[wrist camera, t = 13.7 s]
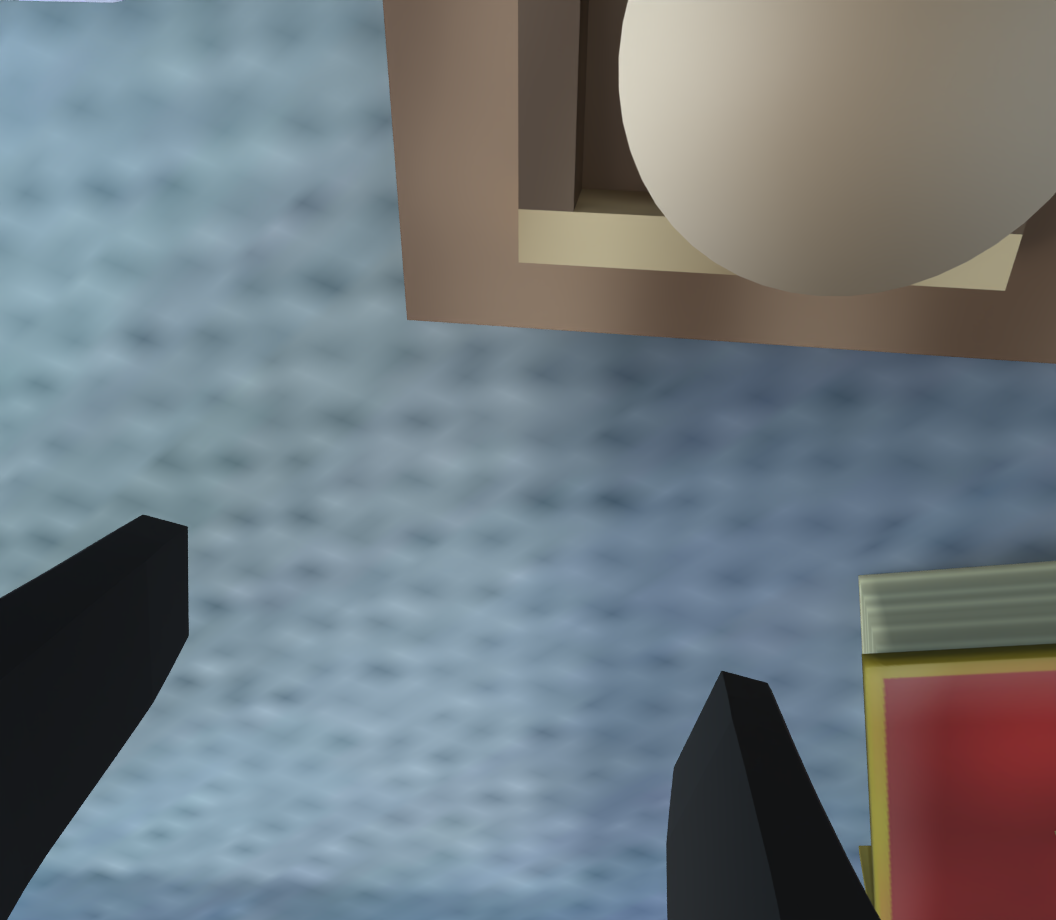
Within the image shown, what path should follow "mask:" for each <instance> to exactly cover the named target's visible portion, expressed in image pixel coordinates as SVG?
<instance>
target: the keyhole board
mask: <svg viewBox="0 0 1056 920" xmlns="http://www.w3.org/2000/svg"><path fill="white" fill-rule="evenodd" d="M627 3H628V0H383V9H384V22H385V36H386V49H387V62H388V75H389V88H390V101H391V114H392V127H393V140H394V153H395V166H396V179H397V192H398V206H399V219H400V232H401V245H402V258H403V271H404V284H405V297H406V310H407V320H418V321H433V322H448V323H463V324H477V325H492V326H507V327H522V328H537V329H551V330H566V331H581V332H596V333H610V334H625V335H640V336H655V337H670V338H684V339H699V340H714V341H729V342H744V343H758V344H773V345H788V346H803V347H817V348H832V349H847V350H862V351H877V352H891V353H906V354H921V355H936V356H951V357H965V358H980V359H995V360H1010V361H1024V362H1039V363H1054V364H1056V193H1055V194H1054V195H1053V196H1052V197H1051V199H1050V200H1049V201H1047V202H1046V203H1045V204H1044V205H1043V206H1042V207H1041V208H1040V209H1039V210H1038V211H1037V212H1036V213H1035V214H1033V215H1032V216H1031V217H1030V218H1029V219H1028V220H1027V221H1026V222H1025V223H1024V224H1022V225H1021V226H1020V227H1018V228H1017V229H1016V230H1014V231H1013V232H1012V233H1010V234H1009V235H1008V236H1006V237H1005V238H1004V239H1003V240H1001V241H1000V242H999V243H997V244H996V245H994V246H992V247H991V248H989V249H987V250H986V251H984V252H983V253H981V254H979V255H978V256H976V257H974V258H973V259H971V260H969V261H968V262H966V263H963V264H961V265H959V266H957V267H955V268H953V269H951V270H949V271H946V272H944V273H942V274H940V275H938V276H935V277H932V278H929V279H926V280H924V281H921V282H918V283H915V284H912V285H909V286H905V287H901V288H897V289H892V290H888V291H884V292H879V293H872V294H863V295H854V296H814V295H806V294H798V293H790V292H786V291H782V290H779V289H775V288H771V287H767V286H763V285H761V284H758V283H756V282H753V281H751V280H748V279H745V278H743V277H740V276H738V275H736V274H734V273H733V272H731V271H729V270H727V269H725V268H724V267H722V266H720V265H718V264H717V263H715V262H713V261H712V260H711V259H709V258H708V257H707V256H705V255H704V254H703V253H701V252H700V251H699V250H697V249H696V248H695V247H693V246H692V245H691V244H690V243H689V242H688V241H687V240H686V239H685V238H684V237H683V236H682V235H681V234H680V233H679V232H678V231H677V230H676V229H675V228H674V227H673V226H672V225H671V223H670V222H669V221H668V219H667V218H666V217H665V215H664V214H663V213H662V212H661V210H660V209H659V208H658V206H657V205H656V204H655V202H654V200H653V198H652V197H651V195H650V193H649V191H648V189H647V188H646V186H645V184H644V182H643V181H642V179H641V176H640V174H639V171H638V169H637V166H636V164H635V162H634V159H633V157H632V154H631V152H630V148H629V144H628V140H627V136H626V132H625V128H624V125H623V119H622V112H621V104H620V96H619V51H620V42H621V34H622V25H623V20H624V16H625V12H626V7H627Z"/></svg>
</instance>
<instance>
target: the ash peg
mask: <svg viewBox="0 0 1056 920" xmlns="http://www.w3.org/2000/svg"><path fill="white" fill-rule="evenodd" d="M619 96H620V104H621V112H622V119H623V125H624V128H625V132H626V136H627V140H628V144H629V148H630V152H631V154H632V157H633V159H634V162H635V164H636V166H637V169H638V171H639V174H640V176H641V179H642V181H643V182H644V184H645V186H646V188H647V189H648V191H649V193H650V195H651V197H652V198H653V200H654V202H655V204H656V205H657V206H658V208H659V209H660V210H661V212H662V213H663V214H664V215H665V217H666V218H667V219H668V221H669V222H670V223H671V225H672V226H673V227H674V228H675V229H676V230H677V231H678V232H679V233H680V234H681V235H682V236H683V237H684V238H685V239H686V240H687V241H688V242H689V243H690V244H691V245H692V246H693V247H695V248H696V249H697V250H699V251H700V252H701V253H703V254H704V255H705V256H707V257H708V258H709V259H711V260H712V261H713V262H715V263H717V264H718V265H720V266H722V267H724V268H725V269H727V270H729V271H731V272H733V273H734V274H736V275H738V276H740V277H743V278H745V279H748V280H751V281H753V282H756V283H758V284H761V285H763V286H767V287H771V288H775V289H779V290H782V291H786V292H790V293H798V294H806V295H814V296H854V295H863V294H872V293H879V292H884V291H888V290H892V289H897V288H901V287H905V286H909V285H912V284H915V283H918V282H921V281H924V280H926V279H929V278H932V277H935V276H938V275H940V274H942V273H944V272H946V271H949V270H951V269H953V268H955V267H957V266H959V265H961V264H963V263H966V262H968V261H969V260H971V259H973V258H974V257H976V256H978V255H979V254H981V253H983V252H984V251H986V250H987V249H989V248H991V247H992V246H994V245H996V244H997V243H999V242H1000V241H1001V240H1003V239H1004V238H1005V237H1006V236H1008V235H1009V234H1010V233H1012V232H1013V231H1014V230H1016V229H1017V228H1018V227H1020V226H1021V225H1022V224H1024V223H1025V222H1026V221H1027V220H1028V219H1029V218H1030V217H1031V216H1032V215H1033V214H1035V213H1036V212H1037V211H1038V210H1039V209H1040V208H1041V207H1042V206H1043V205H1044V204H1045V203H1046V202H1047V201H1049V200H1050V199H1051V197H1052V196H1053V195H1054V194H1055V193H1056V0H628V3H627V7H626V12H625V16H624V20H623V25H622V34H621V42H620V51H619Z"/></svg>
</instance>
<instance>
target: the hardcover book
mask: <svg viewBox="0 0 1056 920" xmlns="http://www.w3.org/2000/svg"><path fill="white" fill-rule="evenodd" d="M859 596H860V616H861V636H862V669H863V689H864V709H865V729H866V749H867V769H868V789H869V809H870V829H871V846H859V855H860V861H861V867H862V873H863V879H864V885H865V890H866V894H867V895H868V897H869V899H870V901H871V903H872V905H873V906H874V908H875V910H876V912H877V914H878V915H879V917H880V919H881V920H1056V561H1047V562H1034V563H1020V564H1007V565H994V566H980V567H967V568H953V569H940V570H926V571H913V572H900V573H886V574H873V575H859Z"/></svg>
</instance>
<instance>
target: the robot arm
mask: <svg viewBox="0 0 1056 920" xmlns="http://www.w3.org/2000/svg"><path fill="white" fill-rule="evenodd" d="M21 1H67V2H113V3H114V2H119V1H124V0H21ZM188 636H189V619H188V527H187V526H184V525H180V524H176V523H173V522H169V521H165V520H161V519H158V518H154V517H150V516H147V515H141V516H140V517H138V518H136V519H134V520H133V521H131V522H129V523H127V524H126V525H124V526H122V527H120V528H119V529H117V530H115V531H114V532H112V533H110V534H109V535H107V536H105V537H104V538H102V539H100V540H98V541H97V542H95V543H93V544H92V545H90V546H88V547H87V548H85V549H83V550H82V551H80V552H78V553H77V554H75V555H73V556H72V557H70V558H68V559H67V560H65V561H63V562H62V563H60V564H58V565H57V566H55V567H53V568H52V569H50V570H48V571H47V572H45V573H43V574H41V575H40V576H38V577H36V578H35V579H33V580H31V581H29V582H27V583H26V584H24V585H22V586H20V587H19V588H17V589H15V590H13V591H12V592H10V593H8V594H6V595H5V596H3V597H1V598H0V920H7V919H8V917H9V915H10V914H11V912H12V910H13V908H14V907H15V905H16V903H17V901H18V900H19V898H20V896H21V895H22V893H23V891H24V889H25V888H26V886H27V885H28V883H29V881H30V880H31V878H32V877H33V875H34V874H35V872H36V871H37V869H38V868H39V866H40V864H41V863H42V861H43V860H44V858H45V857H46V855H47V854H48V852H49V851H50V849H51V848H52V847H53V845H54V844H55V842H56V841H57V839H58V838H59V837H60V835H61V834H62V832H63V831H64V829H65V828H66V827H67V825H68V824H69V822H70V821H71V820H72V818H73V817H74V815H75V814H76V812H77V811H78V810H79V808H80V807H81V805H82V804H83V803H84V801H85V800H86V798H87V797H88V795H89V794H90V793H91V791H92V790H93V788H94V787H95V786H96V784H97V783H98V781H99V780H100V778H101V777H102V776H103V774H104V773H105V771H106V770H107V769H108V767H109V766H110V764H111V763H112V761H113V760H114V759H115V757H116V756H117V754H118V753H119V751H120V750H121V749H122V747H123V746H124V744H125V743H126V741H127V740H128V739H129V737H130V736H131V734H132V733H133V731H134V730H135V728H136V727H137V726H138V724H139V723H140V721H141V720H142V718H143V717H144V715H145V714H146V712H147V711H148V710H149V708H150V707H151V705H152V704H153V702H154V700H155V698H156V696H157V695H158V693H159V691H160V689H161V687H162V686H163V684H164V682H165V680H166V678H167V676H168V675H169V673H170V671H171V669H172V667H173V665H174V663H175V661H176V659H177V657H178V655H179V653H180V652H181V650H182V648H183V646H184V644H185V642H186V640H187V638H188ZM666 847H667V917H668V920H881V919H880V917H879V915H878V914H877V912H876V910H875V908H874V906H873V905H872V903H871V901H870V899H869V897H868V895H867V894H866V892H865V890H864V888H863V886H862V884H861V883H860V881H859V879H858V877H857V875H856V873H855V871H854V869H853V867H852V865H851V863H850V861H849V859H848V857H847V856H846V853H845V851H844V849H843V847H842V845H841V843H840V841H839V839H838V837H837V835H836V833H835V831H834V829H833V827H832V825H831V823H830V821H829V819H828V817H827V815H826V813H825V811H824V808H823V806H822V804H821V802H820V800H819V798H818V796H817V794H816V791H815V789H814V787H813V785H812V783H811V781H810V778H809V776H808V774H807V772H806V769H805V767H804V765H803V763H802V760H801V758H800V756H799V754H798V751H797V749H796V747H795V744H794V742H793V740H792V737H791V735H790V733H789V730H788V728H787V726H786V723H785V721H784V719H783V716H782V714H781V711H780V709H779V707H778V704H777V702H776V700H775V697H774V695H773V693H772V690H771V689H770V687H769V685H768V683H765V682H762V681H758V680H754V679H751V678H747V677H743V676H740V675H736V674H732V673H728V672H725V671H721V673H720V675H719V677H718V679H717V681H716V683H715V685H714V687H713V689H712V691H711V693H710V695H709V697H708V699H707V701H706V703H705V705H704V707H703V709H702V711H701V714H700V716H699V718H698V720H697V722H696V724H695V726H694V728H693V730H692V732H691V734H690V736H689V738H688V740H687V742H686V744H685V746H684V748H683V750H682V752H681V754H680V756H679V758H678V760H677V762H676V764H675V766H674V771H673V781H672V790H671V799H670V809H669V820H668V832H667V843H666Z"/></svg>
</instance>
